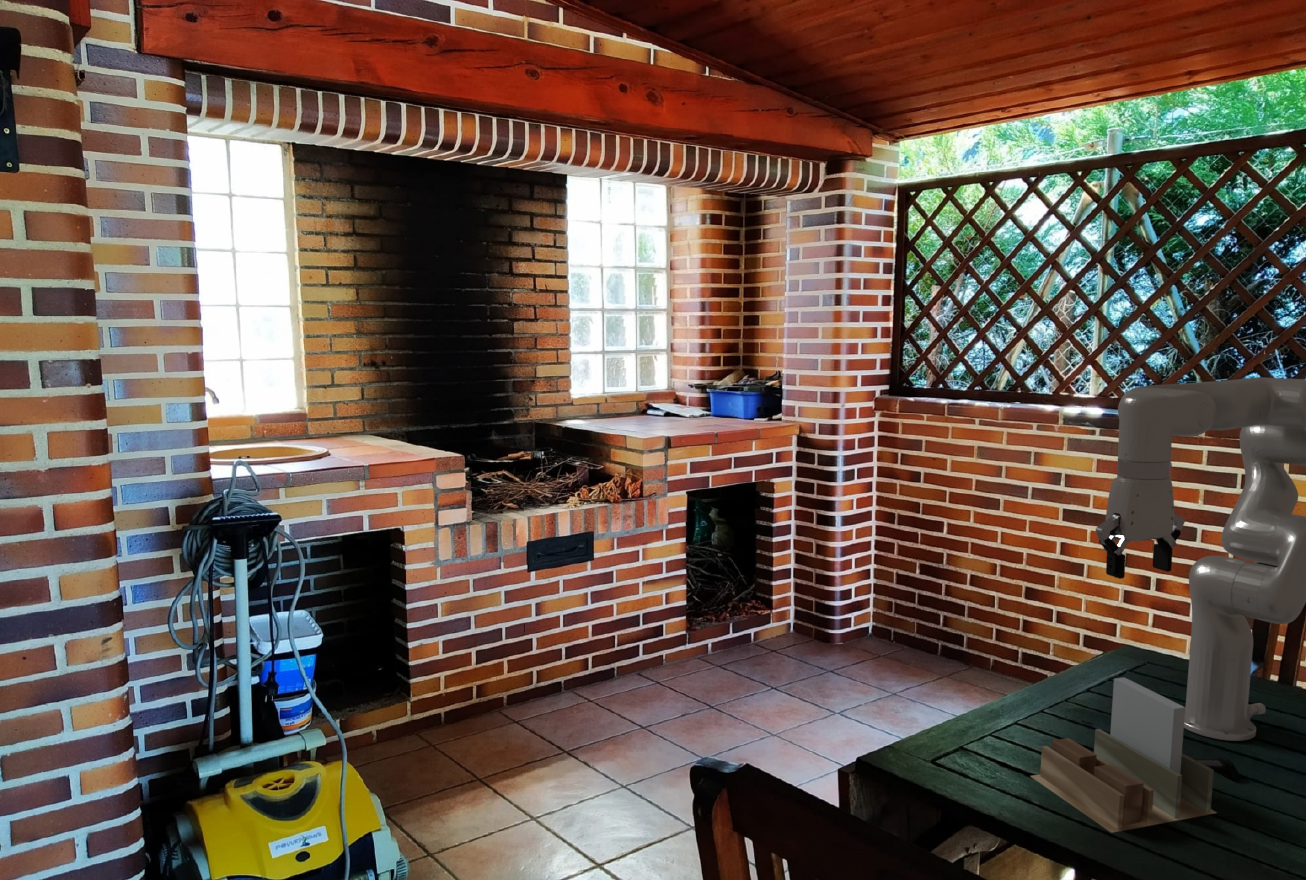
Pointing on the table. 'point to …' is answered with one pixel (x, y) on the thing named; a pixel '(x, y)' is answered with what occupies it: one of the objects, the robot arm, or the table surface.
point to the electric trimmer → (1221, 767)
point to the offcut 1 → (1075, 754)
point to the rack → (1162, 786)
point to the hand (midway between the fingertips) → (1138, 572)
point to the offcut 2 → (1124, 790)
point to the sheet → (1148, 722)
